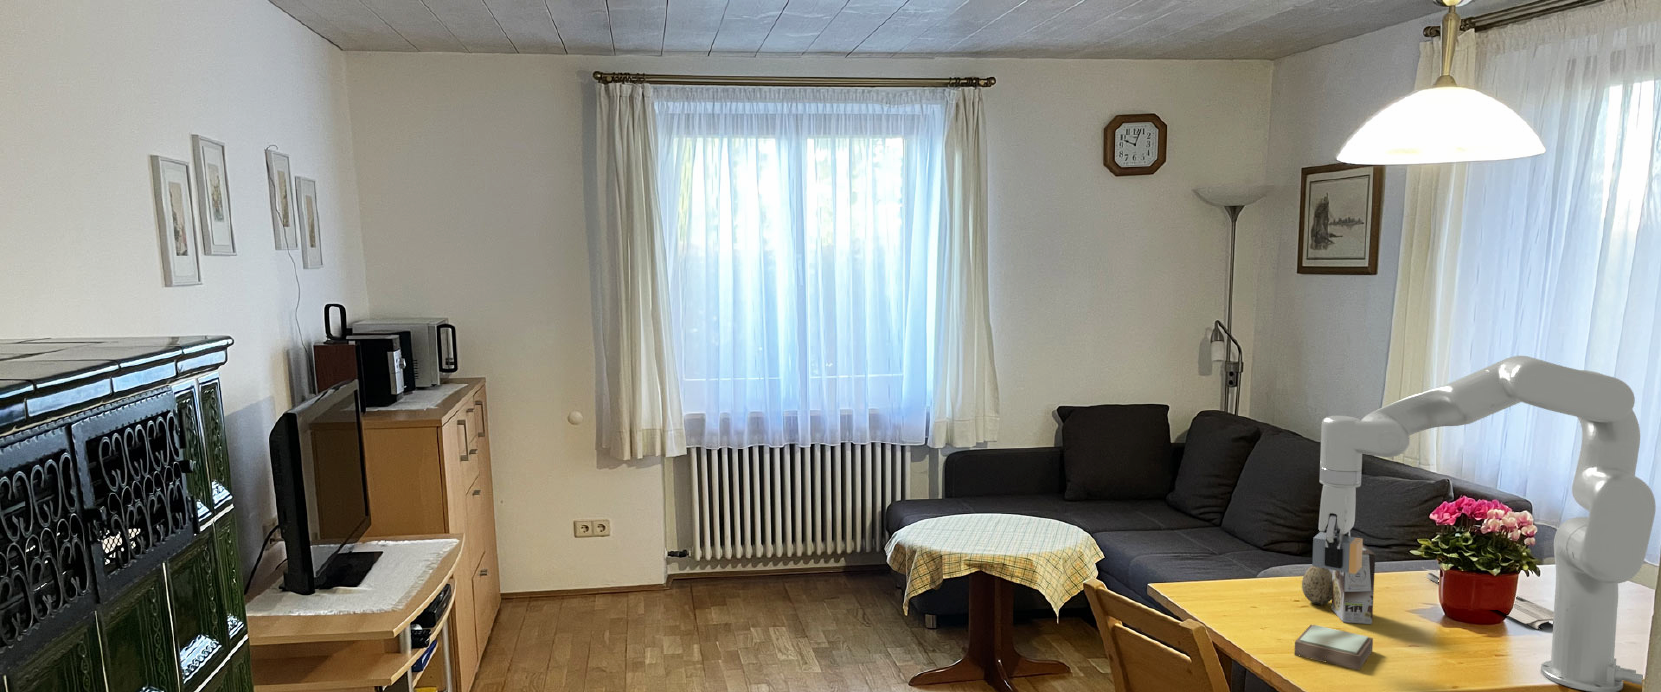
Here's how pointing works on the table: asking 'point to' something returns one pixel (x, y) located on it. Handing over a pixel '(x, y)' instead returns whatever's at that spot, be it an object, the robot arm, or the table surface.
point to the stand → (1334, 646)
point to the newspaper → (1518, 608)
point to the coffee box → (1355, 591)
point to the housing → (1350, 553)
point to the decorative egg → (1317, 585)
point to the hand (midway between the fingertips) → (1337, 562)
